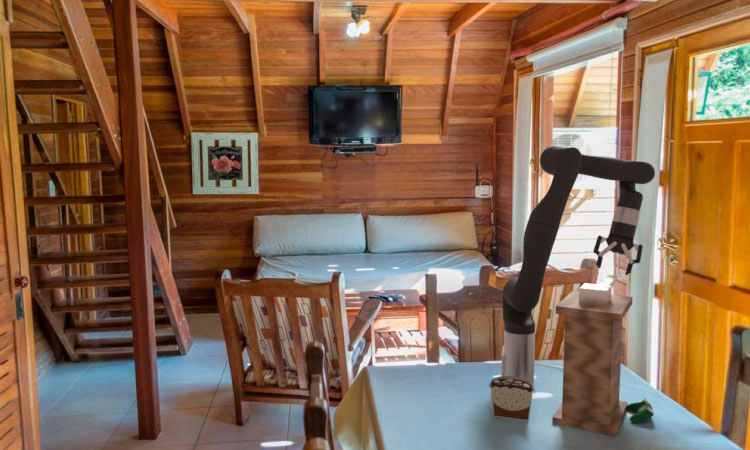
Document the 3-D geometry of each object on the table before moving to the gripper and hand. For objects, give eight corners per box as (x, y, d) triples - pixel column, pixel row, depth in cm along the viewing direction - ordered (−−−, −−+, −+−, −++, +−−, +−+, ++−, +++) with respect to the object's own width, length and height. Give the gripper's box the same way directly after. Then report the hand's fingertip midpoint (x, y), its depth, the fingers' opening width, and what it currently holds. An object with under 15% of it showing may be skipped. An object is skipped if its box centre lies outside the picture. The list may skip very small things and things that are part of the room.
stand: (552, 422, 163) (555, 306, 159) (569, 396, 180) (573, 290, 176) (615, 436, 155) (621, 314, 151) (627, 407, 172) (632, 297, 168)
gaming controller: (639, 430, 162) (657, 417, 160) (629, 420, 163) (647, 406, 161) (634, 416, 171) (651, 403, 169) (624, 406, 171) (642, 393, 170)
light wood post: (578, 302, 162) (579, 288, 162) (600, 280, 189) (601, 268, 189) (606, 305, 159) (607, 290, 158) (624, 282, 186) (625, 270, 185)
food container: (536, 412, 169) (536, 378, 168) (534, 421, 164) (535, 386, 162) (491, 406, 173) (491, 373, 172) (488, 415, 168) (488, 380, 166)
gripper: (600, 217, 195) (588, 266, 196) (648, 226, 189) (635, 277, 190) (602, 218, 202) (591, 266, 203) (648, 228, 196) (636, 277, 197)
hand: (612, 271), depth 196 cm, fingers open, 8 cm apart
